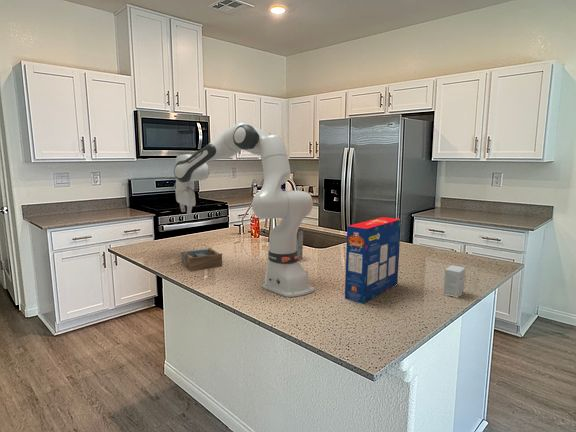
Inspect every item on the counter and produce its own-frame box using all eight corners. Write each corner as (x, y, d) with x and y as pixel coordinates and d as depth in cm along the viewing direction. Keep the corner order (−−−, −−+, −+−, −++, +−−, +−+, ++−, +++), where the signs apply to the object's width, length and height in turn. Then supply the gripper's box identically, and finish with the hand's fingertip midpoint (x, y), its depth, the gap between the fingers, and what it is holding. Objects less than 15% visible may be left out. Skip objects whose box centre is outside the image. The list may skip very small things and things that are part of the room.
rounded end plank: (211, 259, 195) (211, 248, 195) (181, 262, 188) (181, 251, 188) (210, 258, 197) (210, 248, 196) (181, 262, 190) (180, 251, 189)
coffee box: (281, 259, 198) (281, 228, 195) (287, 256, 203) (287, 226, 201) (297, 261, 193) (298, 230, 191) (303, 258, 199) (303, 228, 196)
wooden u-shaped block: (222, 266, 184) (221, 253, 183) (190, 271, 176) (190, 258, 175) (211, 259, 195) (211, 248, 194) (181, 264, 187) (181, 252, 186)
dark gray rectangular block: (209, 267, 183) (209, 257, 182) (201, 268, 181) (200, 258, 180) (202, 262, 190) (202, 252, 190) (194, 263, 188) (194, 253, 188)
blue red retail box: (379, 280, 166) (383, 216, 161) (397, 284, 160) (401, 219, 156) (344, 298, 145) (347, 225, 140) (363, 304, 140) (366, 228, 135)
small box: (449, 289, 155) (451, 264, 153) (463, 293, 152) (465, 267, 150) (442, 295, 149) (444, 269, 147) (457, 298, 145) (460, 272, 144)
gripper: (198, 187, 188) (199, 215, 190) (184, 184, 205) (185, 210, 207) (185, 188, 184) (186, 216, 187) (173, 185, 201) (174, 210, 204)
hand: (186, 213), depth 197 cm, fingers open, 8 cm apart
